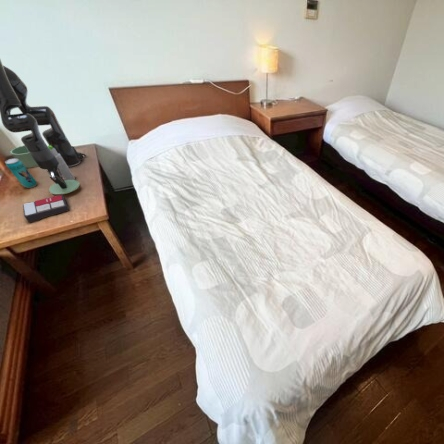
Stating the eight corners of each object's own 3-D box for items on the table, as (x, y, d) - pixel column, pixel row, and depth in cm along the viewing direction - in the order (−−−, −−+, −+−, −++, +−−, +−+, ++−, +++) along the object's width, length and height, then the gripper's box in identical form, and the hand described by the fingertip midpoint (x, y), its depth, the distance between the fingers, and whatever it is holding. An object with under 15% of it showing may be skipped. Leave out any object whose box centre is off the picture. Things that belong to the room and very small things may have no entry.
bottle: (76, 176, 142) (56, 144, 128) (73, 181, 138) (52, 148, 125) (67, 177, 141) (46, 144, 127) (64, 181, 138) (41, 148, 124)
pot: (21, 160, 149) (11, 147, 144) (46, 156, 155) (38, 143, 149) (19, 169, 142) (8, 156, 137) (45, 165, 148) (36, 152, 142)
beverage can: (30, 189, 130) (10, 164, 120) (21, 187, 131) (0, 162, 121) (41, 183, 135) (22, 159, 124) (32, 181, 135) (12, 157, 125)
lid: (50, 185, 131) (43, 176, 127) (79, 179, 137) (74, 170, 133) (50, 198, 124) (42, 189, 120) (80, 191, 130) (75, 182, 126)
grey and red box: (65, 204, 119) (23, 215, 111) (69, 211, 122) (29, 222, 113) (61, 193, 125) (21, 203, 116) (66, 200, 127) (26, 210, 119)
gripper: (53, 162, 115) (73, 191, 127) (54, 149, 123) (72, 178, 135) (32, 165, 112) (55, 195, 124) (34, 152, 120) (55, 181, 132)
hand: (64, 186), depth 130 cm, fingers closed on lid, 2 cm apart
